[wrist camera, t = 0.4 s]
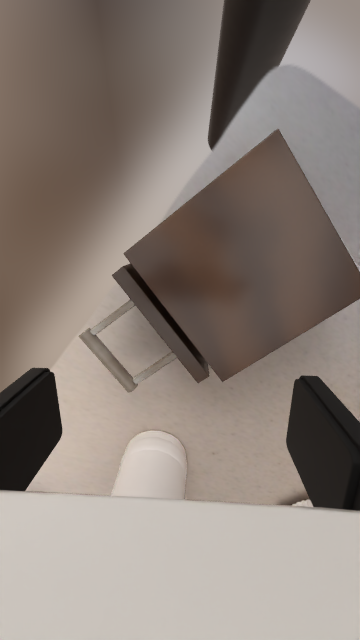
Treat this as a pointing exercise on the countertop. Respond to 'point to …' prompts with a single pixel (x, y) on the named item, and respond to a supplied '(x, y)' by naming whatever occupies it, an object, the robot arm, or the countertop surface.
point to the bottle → (152, 467)
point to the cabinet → (248, 260)
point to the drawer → (159, 321)
